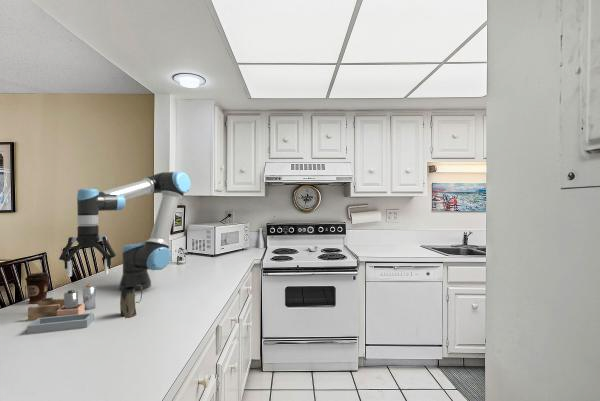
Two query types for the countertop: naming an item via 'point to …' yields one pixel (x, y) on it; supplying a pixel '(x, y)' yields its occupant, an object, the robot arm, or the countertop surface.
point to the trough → (60, 323)
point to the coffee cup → (37, 286)
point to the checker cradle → (45, 308)
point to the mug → (128, 302)
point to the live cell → (89, 296)
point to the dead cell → (71, 300)
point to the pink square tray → (72, 310)
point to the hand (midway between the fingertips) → (88, 275)
